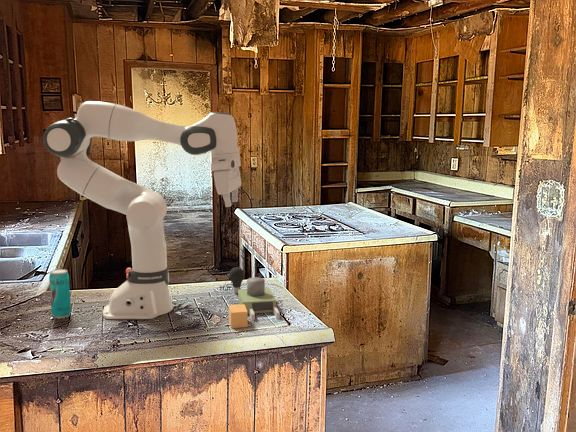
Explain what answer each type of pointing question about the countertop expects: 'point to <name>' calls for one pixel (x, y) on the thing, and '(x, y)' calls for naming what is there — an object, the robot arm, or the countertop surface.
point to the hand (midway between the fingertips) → (231, 204)
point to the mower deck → (257, 298)
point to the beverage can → (60, 293)
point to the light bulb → (236, 278)
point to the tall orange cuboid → (238, 316)
